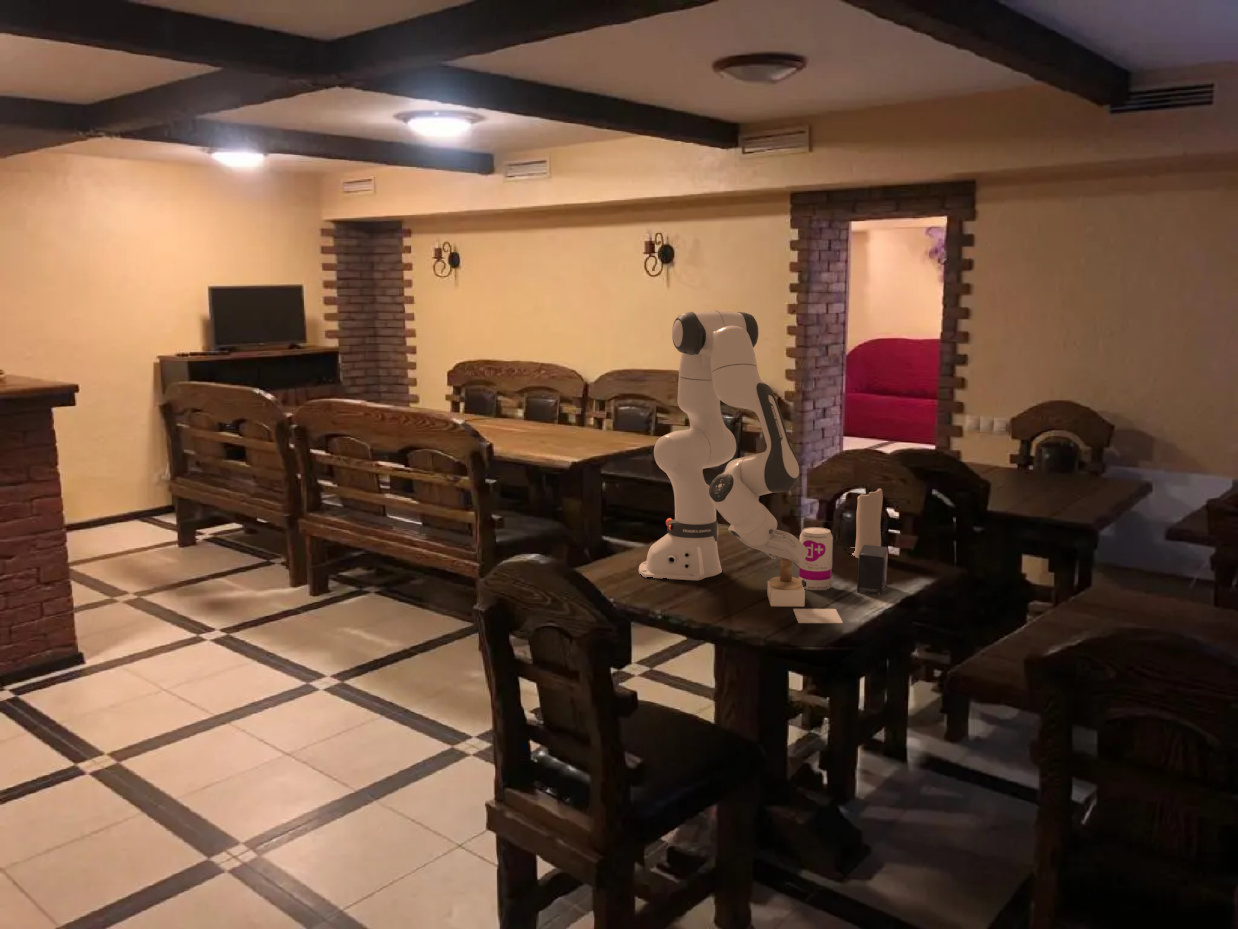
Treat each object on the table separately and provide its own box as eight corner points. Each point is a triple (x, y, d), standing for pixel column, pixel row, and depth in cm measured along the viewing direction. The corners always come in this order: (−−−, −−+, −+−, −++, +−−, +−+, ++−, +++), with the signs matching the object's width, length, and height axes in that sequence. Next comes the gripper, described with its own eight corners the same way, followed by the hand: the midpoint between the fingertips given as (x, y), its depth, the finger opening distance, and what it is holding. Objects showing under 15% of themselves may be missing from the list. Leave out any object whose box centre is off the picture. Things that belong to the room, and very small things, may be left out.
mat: (798, 625, 225) (798, 622, 225) (792, 611, 235) (792, 608, 234) (842, 625, 224) (843, 622, 224) (835, 611, 234) (835, 608, 234)
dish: (770, 608, 237) (771, 590, 236) (767, 598, 245) (767, 580, 244) (804, 608, 236) (804, 590, 236) (800, 598, 244) (800, 580, 244)
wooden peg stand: (771, 590, 236) (772, 555, 235) (768, 580, 244) (768, 547, 242) (803, 590, 236) (804, 555, 234) (799, 580, 243) (800, 547, 242)
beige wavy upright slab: (858, 547, 292) (860, 480, 289) (885, 558, 279) (888, 489, 276) (837, 549, 290) (839, 482, 286) (863, 561, 277) (865, 491, 273)
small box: (883, 597, 244) (884, 556, 242) (856, 595, 247) (857, 554, 245) (887, 585, 254) (888, 545, 252) (861, 583, 256) (862, 544, 254)
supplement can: (825, 594, 247) (827, 535, 245) (794, 589, 251) (795, 532, 249) (835, 585, 254) (837, 528, 252) (804, 581, 258) (805, 525, 256)
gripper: (795, 524, 224) (825, 559, 231) (737, 508, 241) (767, 541, 248) (779, 546, 223) (811, 581, 230) (723, 529, 240) (753, 561, 247)
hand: (788, 560), depth 239 cm, fingers open, 8 cm apart
